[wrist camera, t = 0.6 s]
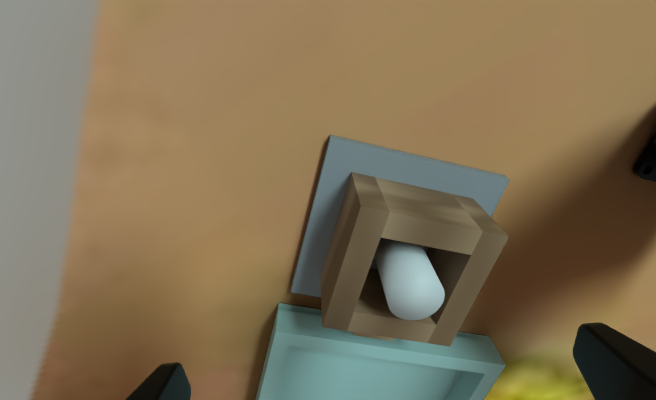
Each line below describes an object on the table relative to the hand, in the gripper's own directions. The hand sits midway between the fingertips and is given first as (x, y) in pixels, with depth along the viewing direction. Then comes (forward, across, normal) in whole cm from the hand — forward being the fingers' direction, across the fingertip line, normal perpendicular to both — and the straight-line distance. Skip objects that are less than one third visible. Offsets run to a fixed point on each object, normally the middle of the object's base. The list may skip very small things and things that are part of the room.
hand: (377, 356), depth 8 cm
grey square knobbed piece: (+12, -2, +5) cm, 13 cm away
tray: (+12, +1, +18) cm, 22 cm away
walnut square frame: (+12, -2, +5) cm, 13 cm away
